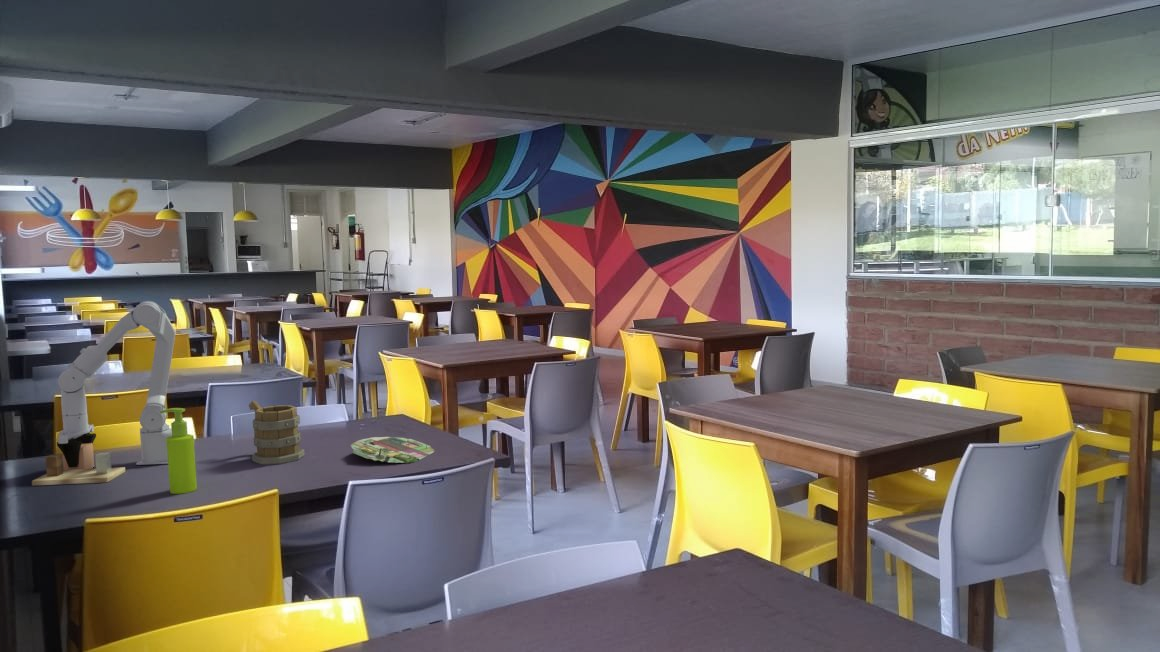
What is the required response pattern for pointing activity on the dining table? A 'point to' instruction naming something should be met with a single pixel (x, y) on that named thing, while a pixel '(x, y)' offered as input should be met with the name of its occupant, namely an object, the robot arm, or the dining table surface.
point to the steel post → (103, 463)
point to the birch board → (78, 477)
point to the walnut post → (54, 465)
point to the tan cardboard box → (83, 458)
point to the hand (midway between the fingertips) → (78, 464)
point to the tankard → (276, 434)
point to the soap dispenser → (180, 455)
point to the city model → (392, 449)
